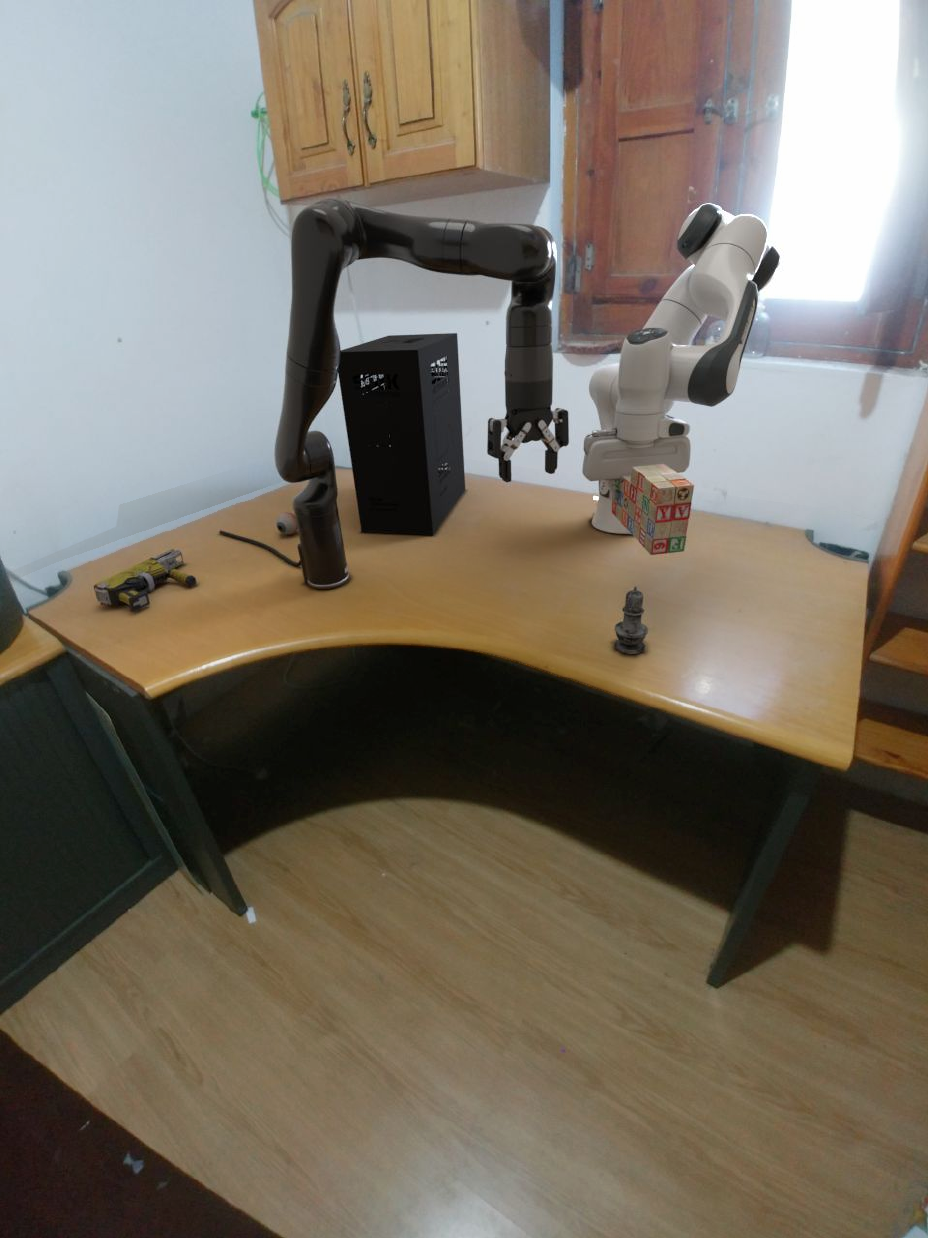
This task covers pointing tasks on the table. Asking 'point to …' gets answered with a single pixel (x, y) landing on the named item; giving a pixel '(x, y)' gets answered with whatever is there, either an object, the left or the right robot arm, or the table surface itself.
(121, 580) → the toy gun
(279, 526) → the eyeball
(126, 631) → the table surface
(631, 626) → the grey chess piece
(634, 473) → the stack of blocks
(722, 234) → the right robot arm
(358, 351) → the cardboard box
